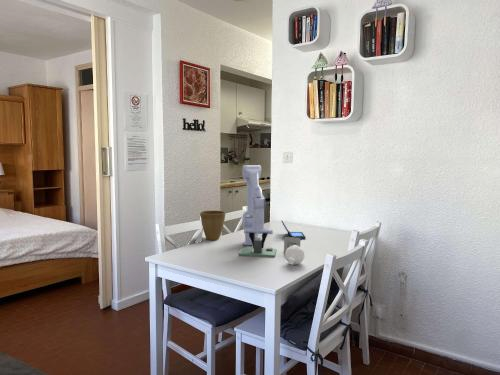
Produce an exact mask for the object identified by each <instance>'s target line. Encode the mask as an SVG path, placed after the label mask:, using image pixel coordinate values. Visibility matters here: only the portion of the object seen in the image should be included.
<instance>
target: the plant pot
mask: <svg viewBox="0 0 500 375" xmlns="http://www.w3.org/2000/svg"><path fill="white" fill-rule="evenodd" d="M199 213H200V221H201V225H202V229H203V233H204V236H205V239H206V240H208V241H217V240H220V237H221V234H222V231H223V228H224V224H225V220H226V211H223V210H204V211H202V210H201V211H200V212H199Z"/></svg>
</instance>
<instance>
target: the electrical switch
mask: <svg viewBox="0 0 500 375" xmlns="http://www.w3.org/2000/svg"><path fill="white" fill-rule="evenodd" d="M283 238H284V240H283V241H284V242H283V243H284V244H283V254H285V252H286V249H287V248H289V247H290V246H293V245H297V246H299V247H301V240H302V239H300V238H291V237H289V236H287V237H286V236H285V237H283Z"/></svg>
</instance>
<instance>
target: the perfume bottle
mask: <svg viewBox="0 0 500 375" xmlns="http://www.w3.org/2000/svg"><path fill="white" fill-rule="evenodd" d="M284 256H285V257H284V258H285V259H286V261H287V264H289V265H295V266H296V265H299V264H300V263H302V262H303V261H304V259H305V251H304V250H303V248H302V247H301V246H300V247H299V246H297V245H293V246H290V247H289V248H287V249H286V252H285V253H284Z"/></svg>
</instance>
